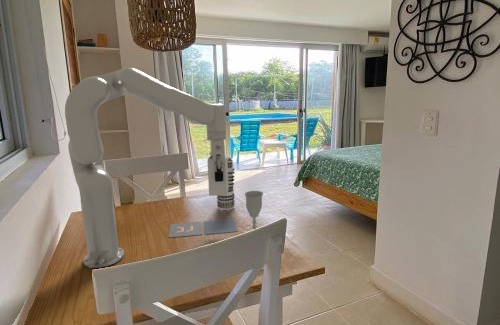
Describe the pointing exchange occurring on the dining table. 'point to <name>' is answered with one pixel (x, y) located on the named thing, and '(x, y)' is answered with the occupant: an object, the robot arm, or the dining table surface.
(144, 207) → the dining table surface
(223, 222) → the mat
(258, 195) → the chalice
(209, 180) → the milk carton
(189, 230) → the tile
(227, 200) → the decorative candle
